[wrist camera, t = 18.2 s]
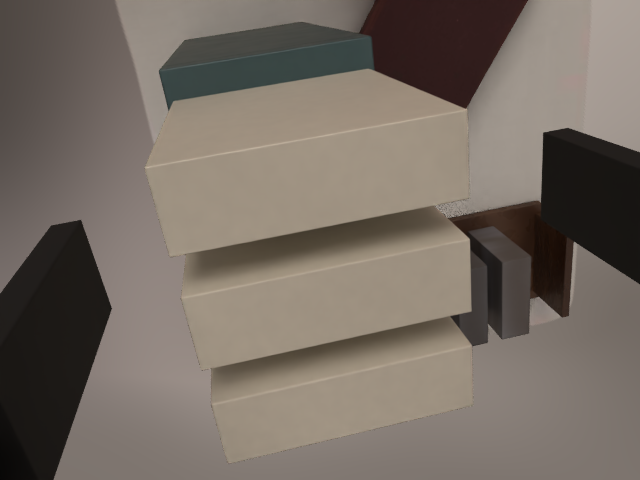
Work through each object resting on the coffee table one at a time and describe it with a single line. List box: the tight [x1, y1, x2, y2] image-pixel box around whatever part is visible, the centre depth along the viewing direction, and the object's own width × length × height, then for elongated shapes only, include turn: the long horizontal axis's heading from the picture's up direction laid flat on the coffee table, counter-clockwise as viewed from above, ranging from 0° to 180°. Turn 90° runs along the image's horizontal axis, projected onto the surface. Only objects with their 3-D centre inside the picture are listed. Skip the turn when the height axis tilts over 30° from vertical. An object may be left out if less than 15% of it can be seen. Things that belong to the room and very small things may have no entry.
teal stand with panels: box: [159, 22, 473, 464], centre depth 35 cm, size 14×11×36 cm
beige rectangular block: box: [145, 69, 470, 257], centre depth 22 cm, size 3×10×12 cm, turn 98°
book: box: [359, 0, 528, 109], centre depth 50 cm, size 12×19×3 cm, turn 153°
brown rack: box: [448, 201, 574, 346], centre depth 58 cm, size 19×12×9 cm, turn 98°
